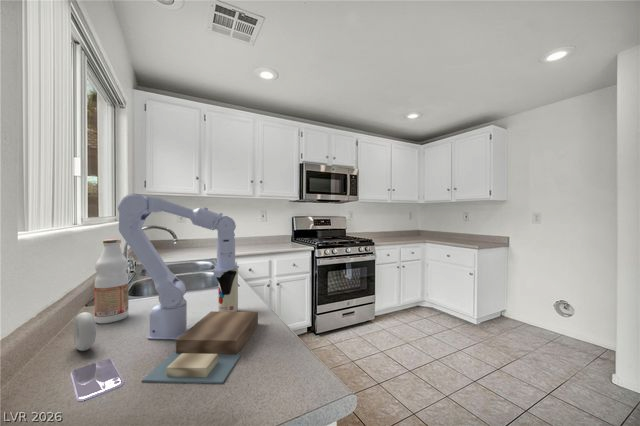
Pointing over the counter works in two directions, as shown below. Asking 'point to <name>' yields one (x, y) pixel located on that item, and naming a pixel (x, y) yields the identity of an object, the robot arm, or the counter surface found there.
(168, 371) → the wooden tile
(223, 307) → the aerosol can
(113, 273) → the fruit juice
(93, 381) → the mobile phone
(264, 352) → the counter surface
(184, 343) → the board
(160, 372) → the slate mat
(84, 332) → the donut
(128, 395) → the counter surface
